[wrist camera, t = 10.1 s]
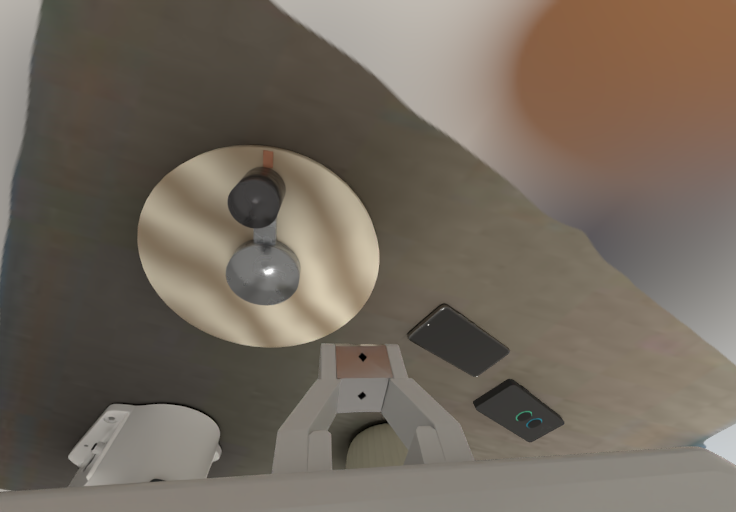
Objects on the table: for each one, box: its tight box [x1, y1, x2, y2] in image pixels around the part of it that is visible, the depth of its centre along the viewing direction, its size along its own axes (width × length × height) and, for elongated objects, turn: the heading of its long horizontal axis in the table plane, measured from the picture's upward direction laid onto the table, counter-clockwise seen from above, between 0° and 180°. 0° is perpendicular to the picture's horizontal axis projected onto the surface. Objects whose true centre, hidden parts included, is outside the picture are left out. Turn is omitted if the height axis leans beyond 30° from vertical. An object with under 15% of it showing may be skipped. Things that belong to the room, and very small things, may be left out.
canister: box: [346, 423, 408, 469], centre depth 45 cm, size 18×18×21 cm
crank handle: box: [226, 167, 301, 305], centre depth 27 cm, size 14×7×6 cm, turn 170°
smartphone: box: [408, 305, 510, 377], centre depth 43 cm, size 7×1×16 cm
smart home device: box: [473, 379, 564, 442], centre depth 54 cm, size 8×2×20 cm
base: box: [137, 145, 379, 347], centre depth 32 cm, size 24×24×2 cm
